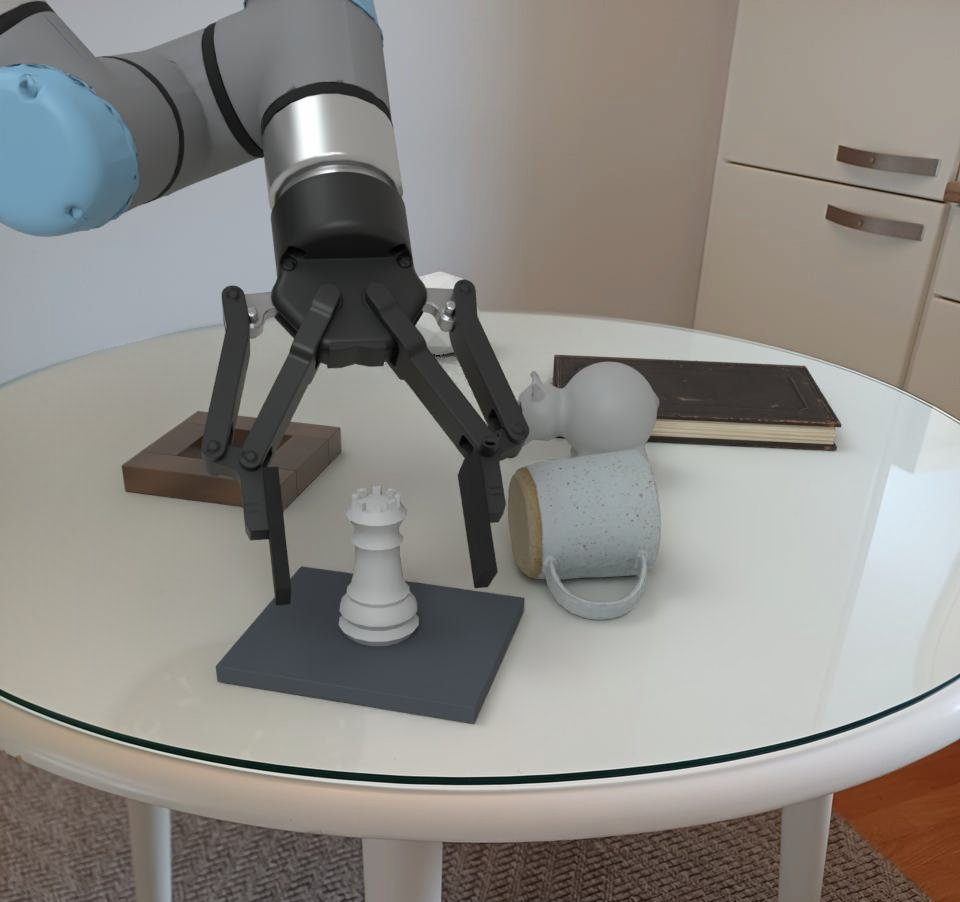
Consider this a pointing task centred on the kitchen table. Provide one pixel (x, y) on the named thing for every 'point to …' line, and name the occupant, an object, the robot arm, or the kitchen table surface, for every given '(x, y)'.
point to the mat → (378, 649)
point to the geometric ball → (427, 323)
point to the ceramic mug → (586, 525)
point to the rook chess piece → (377, 573)
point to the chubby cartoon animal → (593, 410)
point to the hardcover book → (727, 402)
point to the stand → (181, 474)
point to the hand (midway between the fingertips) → (386, 588)
